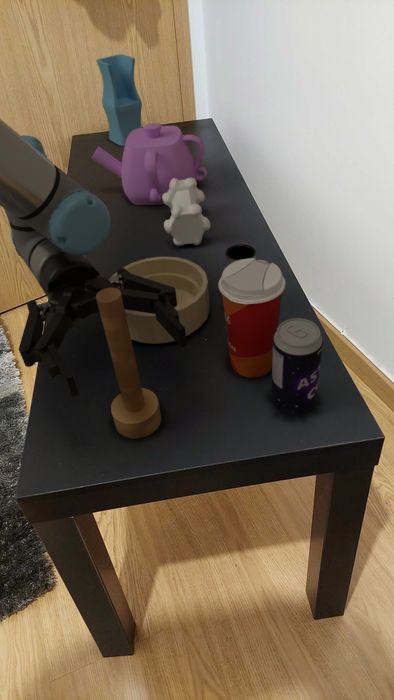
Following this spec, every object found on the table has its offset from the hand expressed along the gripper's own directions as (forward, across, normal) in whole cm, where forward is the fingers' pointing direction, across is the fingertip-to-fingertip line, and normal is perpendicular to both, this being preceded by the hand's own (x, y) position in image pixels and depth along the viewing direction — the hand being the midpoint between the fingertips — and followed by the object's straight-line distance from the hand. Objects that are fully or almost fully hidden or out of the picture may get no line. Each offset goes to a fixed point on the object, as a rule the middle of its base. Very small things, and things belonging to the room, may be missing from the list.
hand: (130, 361), depth 57 cm
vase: (-96, -42, -12) cm, 106 cm away
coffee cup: (-2, -18, -12) cm, 22 cm away
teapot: (-62, -33, -12) cm, 71 cm away
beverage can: (+7, -18, -12) cm, 23 cm away
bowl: (-20, -13, -12) cm, 26 cm away
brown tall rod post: (-2, 0, -12) cm, 12 cm away
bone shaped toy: (-41, -30, -12) cm, 52 cm away
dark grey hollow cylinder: (-14, -24, -12) cm, 30 cm away
